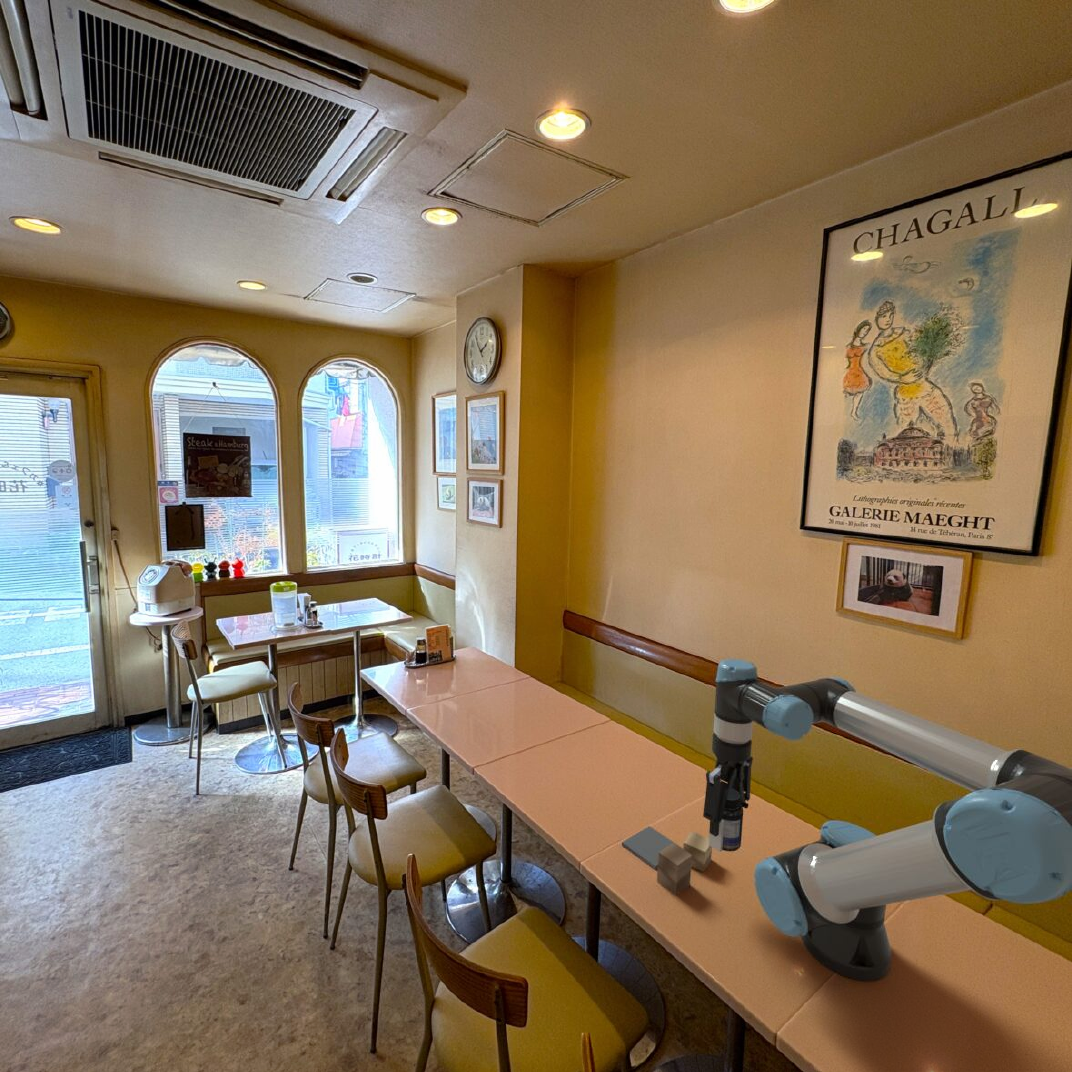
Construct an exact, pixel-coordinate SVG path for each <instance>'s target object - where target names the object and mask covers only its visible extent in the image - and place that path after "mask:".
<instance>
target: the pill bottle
mask: <svg viewBox="0 0 1072 1072" xmlns="http://www.w3.org/2000/svg"><path fill="white" fill-rule="evenodd" d="M740 800H741V796H740V793H739V792H738V791H736V790H734V789H732V788H731V789H729V791H728V795H727V800H726V804H725V808H724V812H723V817H722V820H724V833H723V847H722V851H724V852H735V851H737V850H739V849H740V848H741V846H742V839H743V838H742V834H743V822H744V821H743V820H744V807H743V808H742V806H741V805H740Z"/></svg>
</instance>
